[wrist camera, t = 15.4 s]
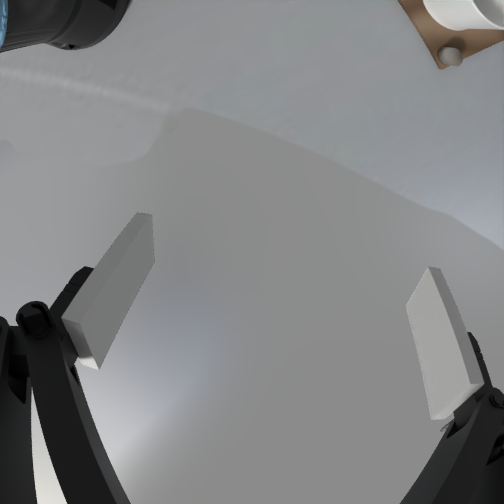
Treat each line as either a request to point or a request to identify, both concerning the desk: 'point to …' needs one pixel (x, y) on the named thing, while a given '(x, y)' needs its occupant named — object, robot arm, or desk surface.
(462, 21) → the mug
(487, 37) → the board with corner pegs
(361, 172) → the desk surface
